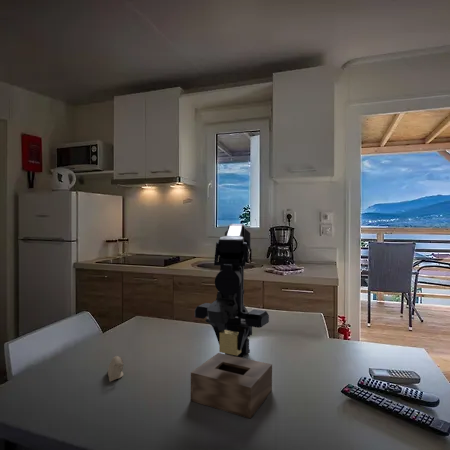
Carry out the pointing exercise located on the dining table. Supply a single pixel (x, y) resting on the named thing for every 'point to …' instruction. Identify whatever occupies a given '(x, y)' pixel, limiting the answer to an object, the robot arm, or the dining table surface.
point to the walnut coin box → (232, 384)
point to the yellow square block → (229, 342)
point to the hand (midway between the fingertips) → (230, 348)
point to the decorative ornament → (115, 368)
